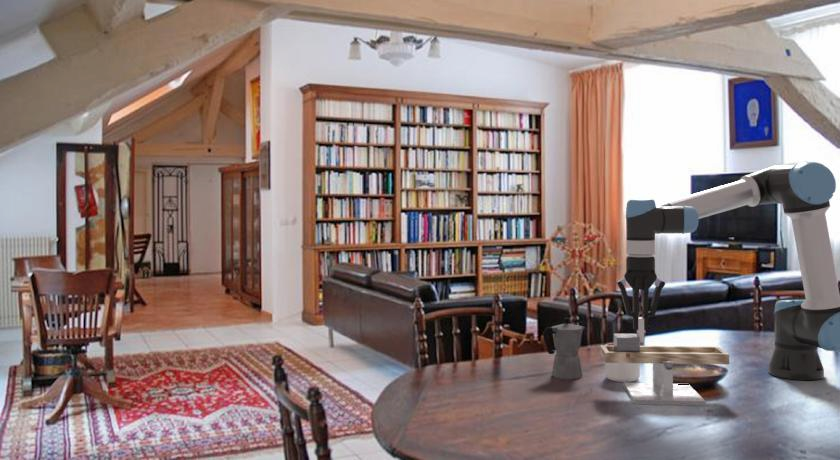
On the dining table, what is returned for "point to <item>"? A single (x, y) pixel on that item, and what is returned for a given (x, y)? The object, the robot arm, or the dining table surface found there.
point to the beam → (667, 355)
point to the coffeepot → (565, 349)
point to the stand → (663, 389)
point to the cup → (622, 371)
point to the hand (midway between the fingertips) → (640, 341)
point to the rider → (626, 343)
